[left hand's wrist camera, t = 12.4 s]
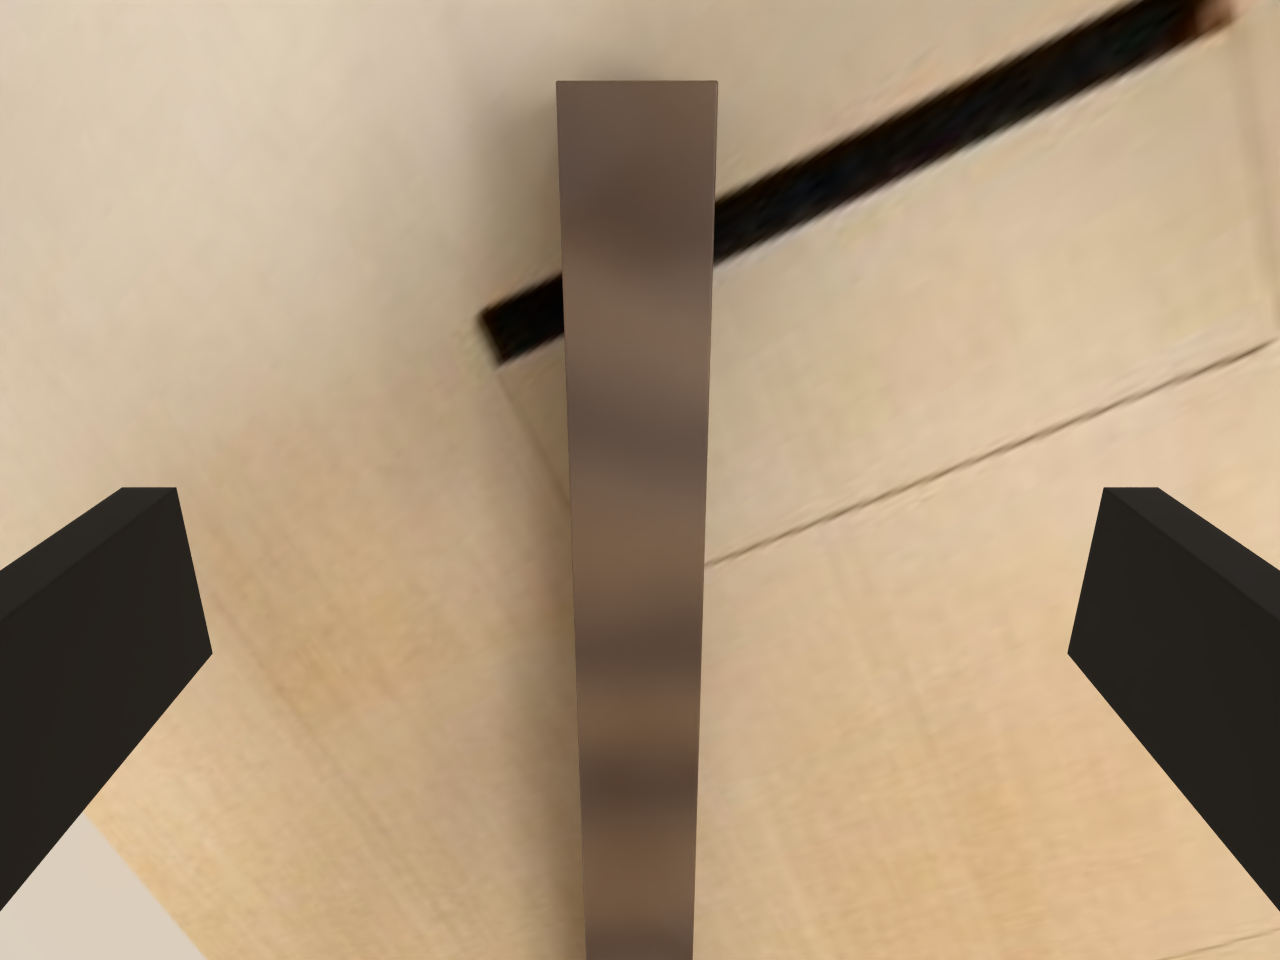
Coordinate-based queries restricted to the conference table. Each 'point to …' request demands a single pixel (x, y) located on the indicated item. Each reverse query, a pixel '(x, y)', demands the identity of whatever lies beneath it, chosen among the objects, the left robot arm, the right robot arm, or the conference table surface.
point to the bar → (638, 490)
